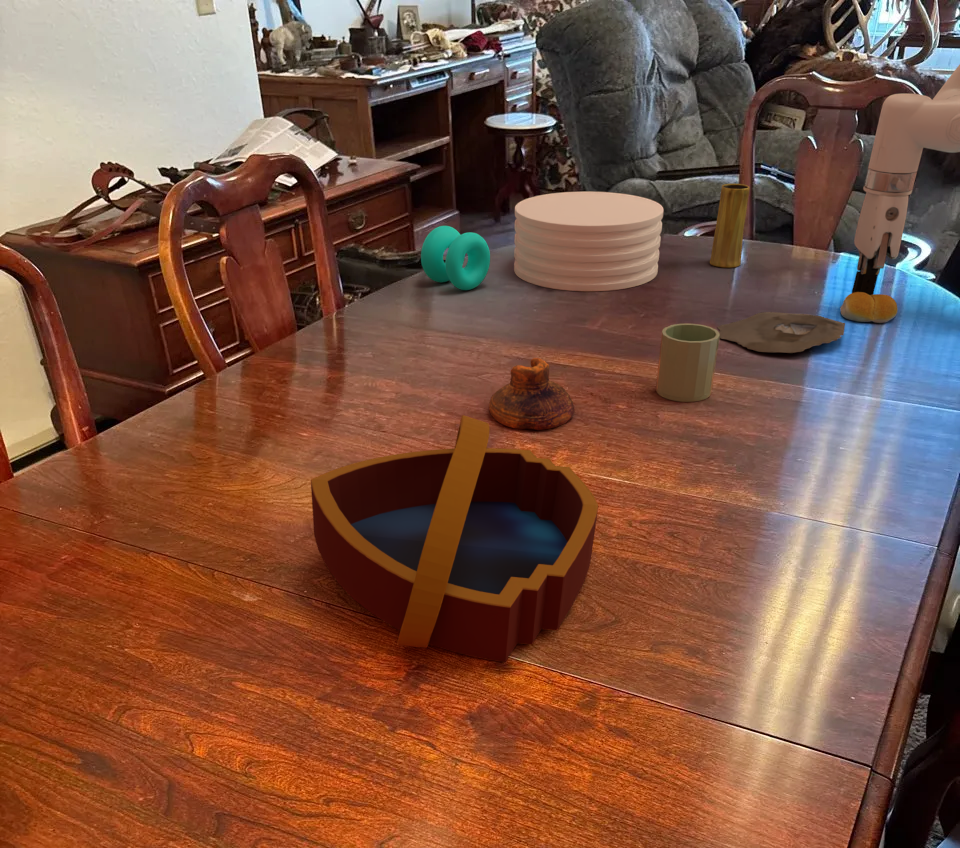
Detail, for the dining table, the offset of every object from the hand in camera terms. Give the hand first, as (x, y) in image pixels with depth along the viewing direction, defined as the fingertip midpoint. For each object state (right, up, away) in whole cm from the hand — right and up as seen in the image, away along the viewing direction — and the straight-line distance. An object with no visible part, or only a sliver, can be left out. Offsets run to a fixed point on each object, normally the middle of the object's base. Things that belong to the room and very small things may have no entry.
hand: (861, 296), depth 166 cm
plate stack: (-46, +13, +21) cm, 52 cm away
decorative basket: (-69, -53, -67) cm, 110 cm away
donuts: (-71, +7, +14) cm, 73 cm away
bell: (-59, -29, -35) cm, 75 cm away
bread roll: (0, -5, -3) cm, 6 cm away
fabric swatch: (-18, -10, -10) cm, 23 cm away
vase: (-18, +15, +24) cm, 33 cm away
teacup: (-37, -24, -29) cm, 53 cm away
